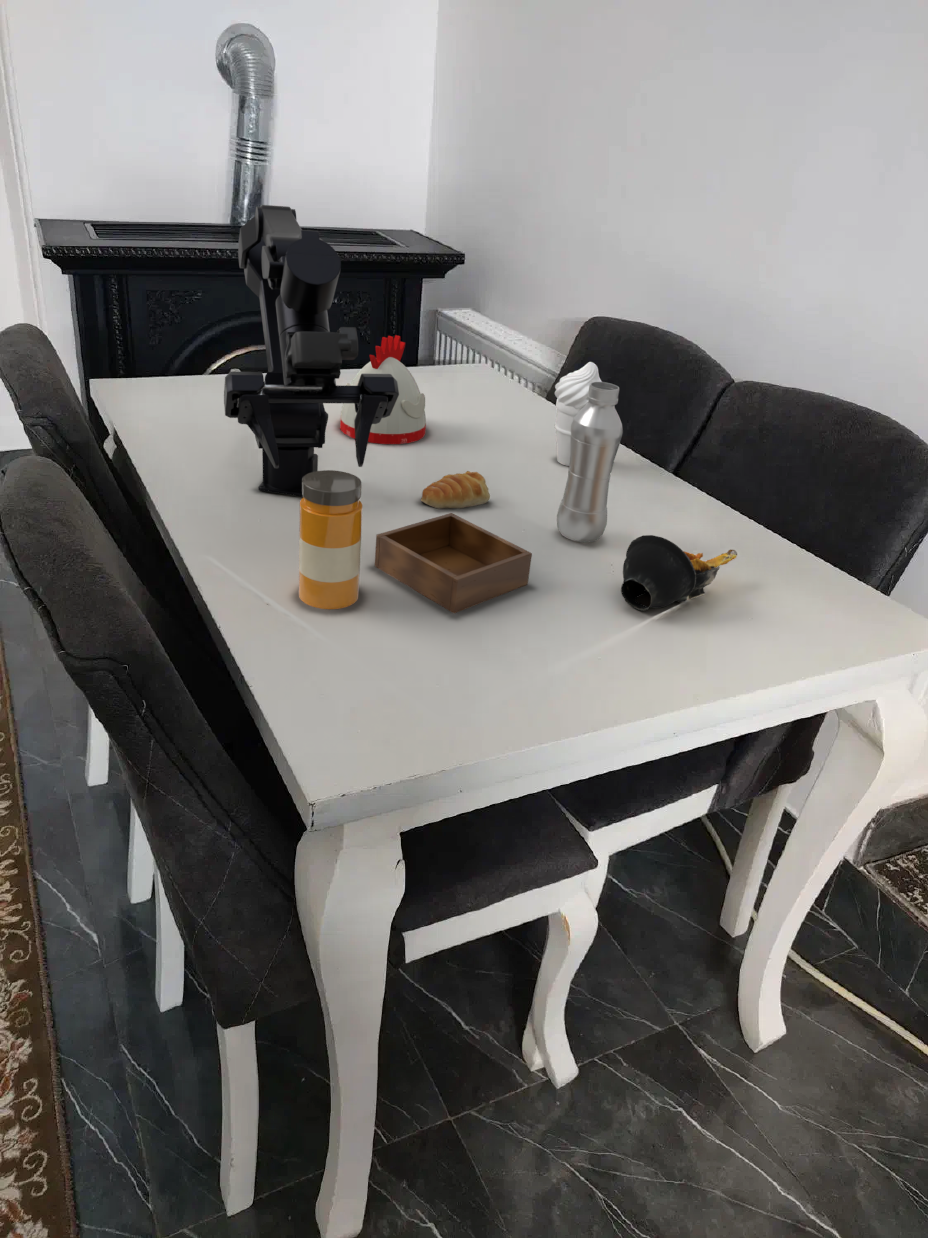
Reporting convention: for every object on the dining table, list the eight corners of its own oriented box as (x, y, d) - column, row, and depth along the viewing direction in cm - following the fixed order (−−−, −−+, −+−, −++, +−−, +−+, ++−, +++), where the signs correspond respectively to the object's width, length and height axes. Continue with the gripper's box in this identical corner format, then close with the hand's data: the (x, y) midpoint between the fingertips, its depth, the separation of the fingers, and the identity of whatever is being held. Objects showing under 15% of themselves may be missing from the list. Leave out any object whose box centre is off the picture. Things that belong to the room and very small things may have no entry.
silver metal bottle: (572, 551, 117) (598, 395, 107) (544, 529, 122) (567, 379, 112) (613, 545, 119) (643, 392, 110) (584, 524, 124) (610, 377, 115)
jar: (294, 585, 102) (295, 469, 95) (352, 582, 103) (357, 468, 97) (303, 614, 96) (304, 493, 90) (363, 610, 98) (369, 492, 92)
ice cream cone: (537, 463, 144) (552, 361, 136) (553, 449, 150) (567, 350, 143) (588, 475, 141) (606, 371, 133) (602, 460, 148) (620, 360, 140)
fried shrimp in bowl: (589, 562, 103) (670, 479, 112) (622, 640, 108) (696, 555, 117) (658, 564, 96) (737, 476, 106) (689, 647, 101) (762, 556, 110)
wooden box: (374, 568, 107) (376, 534, 105) (448, 545, 114) (451, 512, 112) (453, 616, 99) (457, 580, 97) (527, 587, 107) (532, 553, 104)
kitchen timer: (441, 431, 153) (449, 339, 145) (392, 450, 142) (398, 352, 135) (374, 411, 159) (378, 322, 151) (322, 428, 148) (324, 333, 141)
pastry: (439, 517, 122) (441, 490, 120) (409, 499, 126) (411, 473, 124) (493, 505, 127) (496, 478, 125) (462, 488, 132) (465, 463, 130)
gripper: (222, 292, 94) (235, 433, 90) (400, 300, 99) (419, 432, 96) (218, 351, 104) (230, 479, 100) (380, 354, 110) (396, 475, 106)
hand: (319, 466), depth 100 cm, fingers open, 9 cm apart
